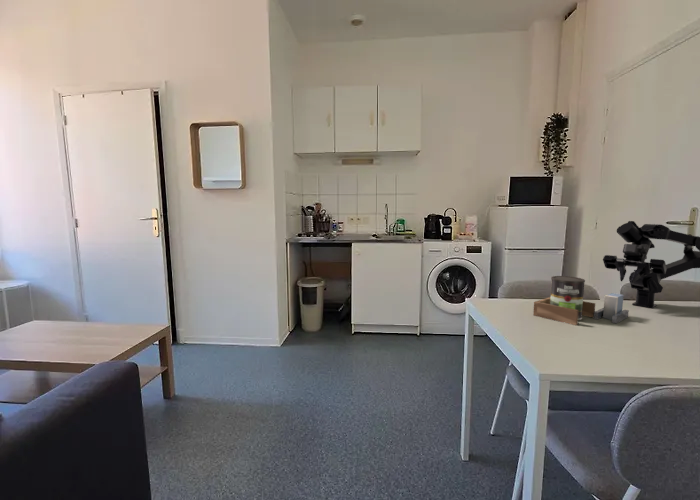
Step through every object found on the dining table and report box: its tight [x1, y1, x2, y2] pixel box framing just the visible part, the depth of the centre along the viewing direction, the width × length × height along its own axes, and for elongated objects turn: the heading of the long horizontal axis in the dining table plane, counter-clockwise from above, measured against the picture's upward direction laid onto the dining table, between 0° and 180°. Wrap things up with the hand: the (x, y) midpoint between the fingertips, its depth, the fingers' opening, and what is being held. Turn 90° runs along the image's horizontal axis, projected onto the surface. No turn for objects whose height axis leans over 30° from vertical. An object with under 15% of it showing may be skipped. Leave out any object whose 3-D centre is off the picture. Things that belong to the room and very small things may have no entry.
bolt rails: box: [592, 307, 630, 324], centre depth 126 cm, size 12×7×2 cm, turn 126°
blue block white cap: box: [602, 292, 624, 321], centre depth 127 cm, size 7×4×8 cm, turn 126°
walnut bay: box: [532, 296, 596, 326], centre depth 129 cm, size 15×14×5 cm
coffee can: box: [549, 275, 586, 321], centre depth 128 cm, size 10×10×14 cm
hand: (626, 281), depth 133 cm, fingers open, 3 cm apart
